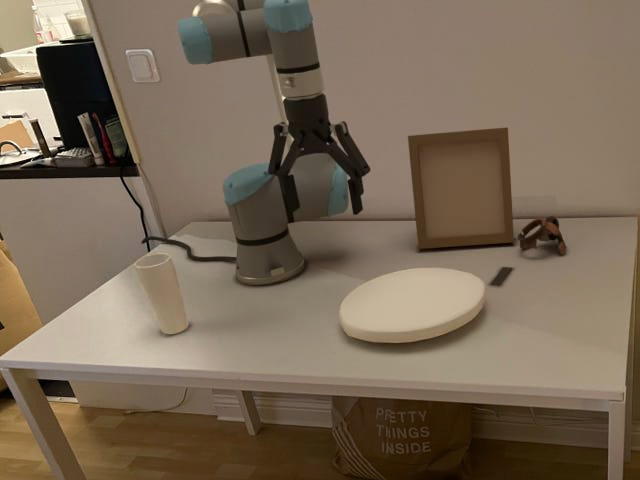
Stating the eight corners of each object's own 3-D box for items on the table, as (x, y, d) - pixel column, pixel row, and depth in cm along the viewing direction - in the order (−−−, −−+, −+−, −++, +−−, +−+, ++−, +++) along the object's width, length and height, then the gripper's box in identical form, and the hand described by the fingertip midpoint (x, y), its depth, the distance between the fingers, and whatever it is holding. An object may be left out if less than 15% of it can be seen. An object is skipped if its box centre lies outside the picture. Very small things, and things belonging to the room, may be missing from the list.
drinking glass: (165, 321, 146) (142, 254, 139) (197, 319, 146) (175, 251, 138) (153, 338, 141) (127, 268, 133) (186, 336, 140) (163, 266, 132)
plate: (320, 332, 126) (352, 268, 148) (331, 363, 129) (360, 296, 152) (477, 310, 121) (485, 248, 143) (483, 343, 124) (491, 277, 146)
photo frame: (514, 246, 162) (508, 134, 149) (418, 252, 164) (404, 143, 151) (512, 222, 174) (507, 117, 161) (424, 228, 176) (411, 125, 163)
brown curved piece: (563, 263, 153) (542, 234, 149) (528, 275, 159) (507, 247, 155) (577, 229, 160) (558, 200, 156) (543, 241, 166) (524, 214, 163)
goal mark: (490, 284, 146) (490, 283, 146) (503, 268, 152) (503, 266, 152) (500, 285, 146) (500, 284, 145) (512, 268, 152) (512, 267, 152)
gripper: (231, 101, 126) (259, 215, 137) (358, 99, 118) (377, 220, 129) (254, 91, 132) (279, 201, 143) (377, 88, 124) (393, 205, 135)
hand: (326, 211), depth 136 cm, fingers open, 13 cm apart
